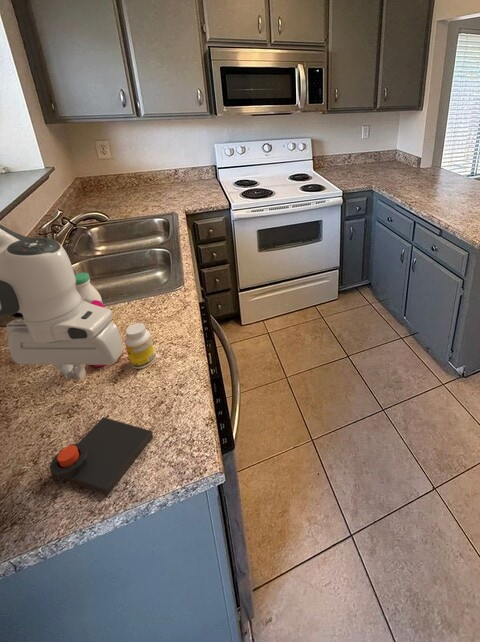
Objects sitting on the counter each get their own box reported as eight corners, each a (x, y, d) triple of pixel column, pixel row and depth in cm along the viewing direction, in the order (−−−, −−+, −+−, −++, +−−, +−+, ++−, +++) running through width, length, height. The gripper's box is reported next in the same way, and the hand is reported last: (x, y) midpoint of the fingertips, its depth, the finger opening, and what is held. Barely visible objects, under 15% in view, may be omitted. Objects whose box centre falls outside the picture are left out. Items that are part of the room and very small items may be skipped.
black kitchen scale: (47, 481, 69) (41, 469, 68) (103, 422, 81) (99, 411, 79) (103, 502, 65) (98, 489, 64) (153, 437, 77) (150, 425, 76)
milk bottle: (75, 335, 109) (58, 278, 102) (102, 321, 114) (87, 266, 108) (87, 345, 104) (69, 286, 98) (114, 330, 110) (99, 274, 103)
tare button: (55, 465, 69) (53, 458, 68) (70, 449, 72) (68, 443, 71) (68, 469, 68) (65, 463, 67) (83, 453, 71) (81, 447, 70)
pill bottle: (131, 357, 100) (123, 324, 96) (155, 350, 102) (148, 318, 98) (129, 372, 94) (121, 338, 90) (155, 365, 97) (148, 332, 93)
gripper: (-12, 331, 64) (12, 389, 69) (100, 331, 64) (116, 390, 69) (17, 309, 70) (38, 364, 75) (119, 310, 70) (133, 365, 75)
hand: (76, 377), depth 72 cm, fingers closed
